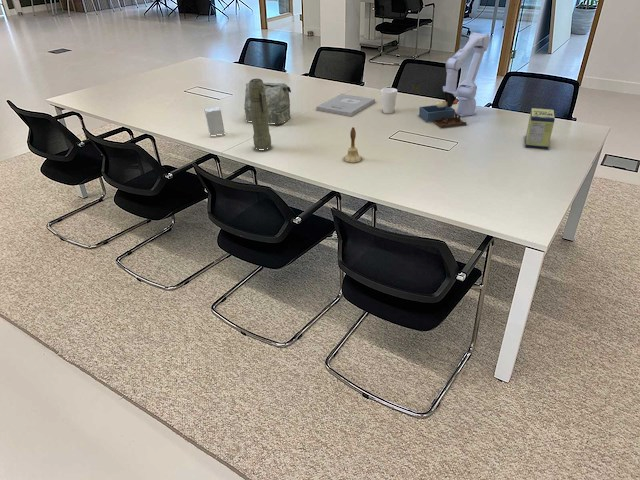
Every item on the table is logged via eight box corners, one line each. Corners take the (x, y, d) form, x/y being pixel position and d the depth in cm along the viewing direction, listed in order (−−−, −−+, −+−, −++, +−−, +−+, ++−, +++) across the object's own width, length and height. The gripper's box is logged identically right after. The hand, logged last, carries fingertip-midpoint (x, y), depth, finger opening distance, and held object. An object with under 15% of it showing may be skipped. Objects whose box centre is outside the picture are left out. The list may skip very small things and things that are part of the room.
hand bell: (344, 156, 242) (344, 124, 233) (361, 155, 242) (361, 124, 233) (344, 163, 235) (344, 131, 226) (361, 162, 235) (362, 130, 226)
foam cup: (395, 114, 290) (396, 92, 283) (379, 114, 292) (380, 92, 285) (396, 109, 298) (397, 88, 291) (381, 109, 300) (382, 87, 293)
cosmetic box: (223, 132, 275) (219, 106, 267) (225, 135, 271) (221, 109, 263) (208, 134, 273) (204, 108, 265) (210, 138, 268) (205, 111, 260)
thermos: (264, 153, 248) (256, 84, 229) (249, 148, 255) (241, 80, 236) (277, 148, 253) (271, 79, 234) (262, 143, 260) (255, 75, 241)
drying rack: (458, 119, 279) (459, 111, 277) (466, 125, 272) (467, 117, 269) (434, 122, 277) (435, 114, 274) (441, 128, 269) (442, 120, 267)
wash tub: (445, 112, 290) (445, 103, 287) (454, 118, 281) (455, 109, 278) (418, 115, 287) (419, 106, 284) (427, 122, 278) (428, 113, 275)
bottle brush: (454, 104, 275) (455, 98, 274) (457, 106, 273) (458, 100, 271) (434, 106, 273) (435, 100, 271) (437, 108, 270) (438, 102, 268)
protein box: (546, 138, 252) (553, 108, 244) (548, 149, 240) (555, 119, 231) (525, 136, 255) (531, 107, 247) (525, 147, 243) (531, 117, 234)
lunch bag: (295, 117, 293) (293, 79, 281) (282, 127, 279) (279, 88, 267) (257, 113, 301) (253, 76, 289) (242, 122, 287) (238, 85, 275)
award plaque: (316, 110, 302) (316, 106, 301) (341, 96, 323) (341, 93, 322) (350, 116, 290) (350, 112, 289) (374, 102, 311) (374, 98, 310)
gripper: (438, 78, 271) (436, 102, 278) (451, 85, 259) (448, 110, 266) (450, 77, 272) (447, 101, 280) (463, 84, 260) (460, 109, 268)
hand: (448, 106), depth 273 cm, fingers closed on bottle brush, 2 cm apart
